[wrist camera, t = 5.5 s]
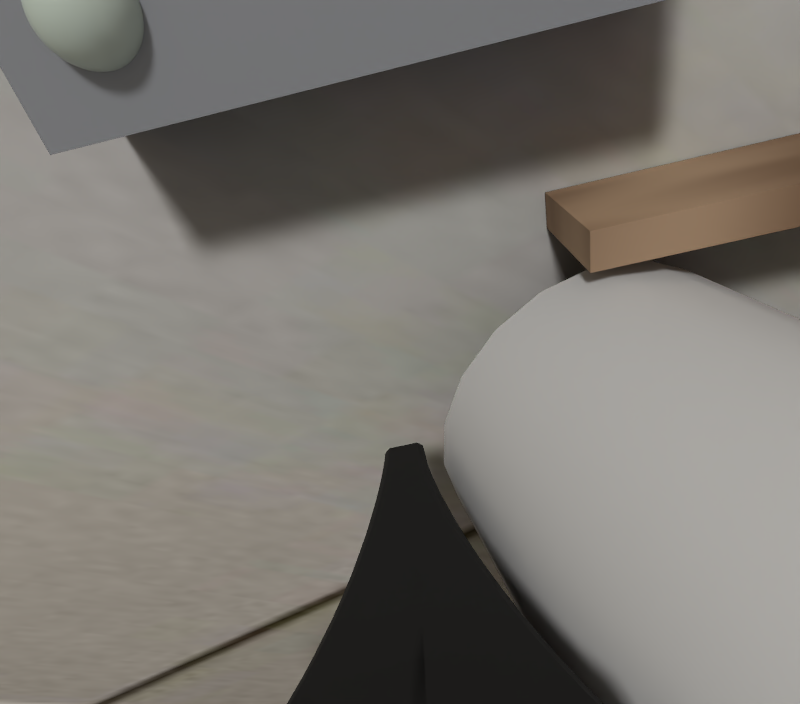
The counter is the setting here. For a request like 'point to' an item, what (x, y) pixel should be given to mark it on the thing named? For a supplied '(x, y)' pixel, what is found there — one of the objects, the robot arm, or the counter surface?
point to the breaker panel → (231, 52)
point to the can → (643, 482)
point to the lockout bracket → (679, 205)
